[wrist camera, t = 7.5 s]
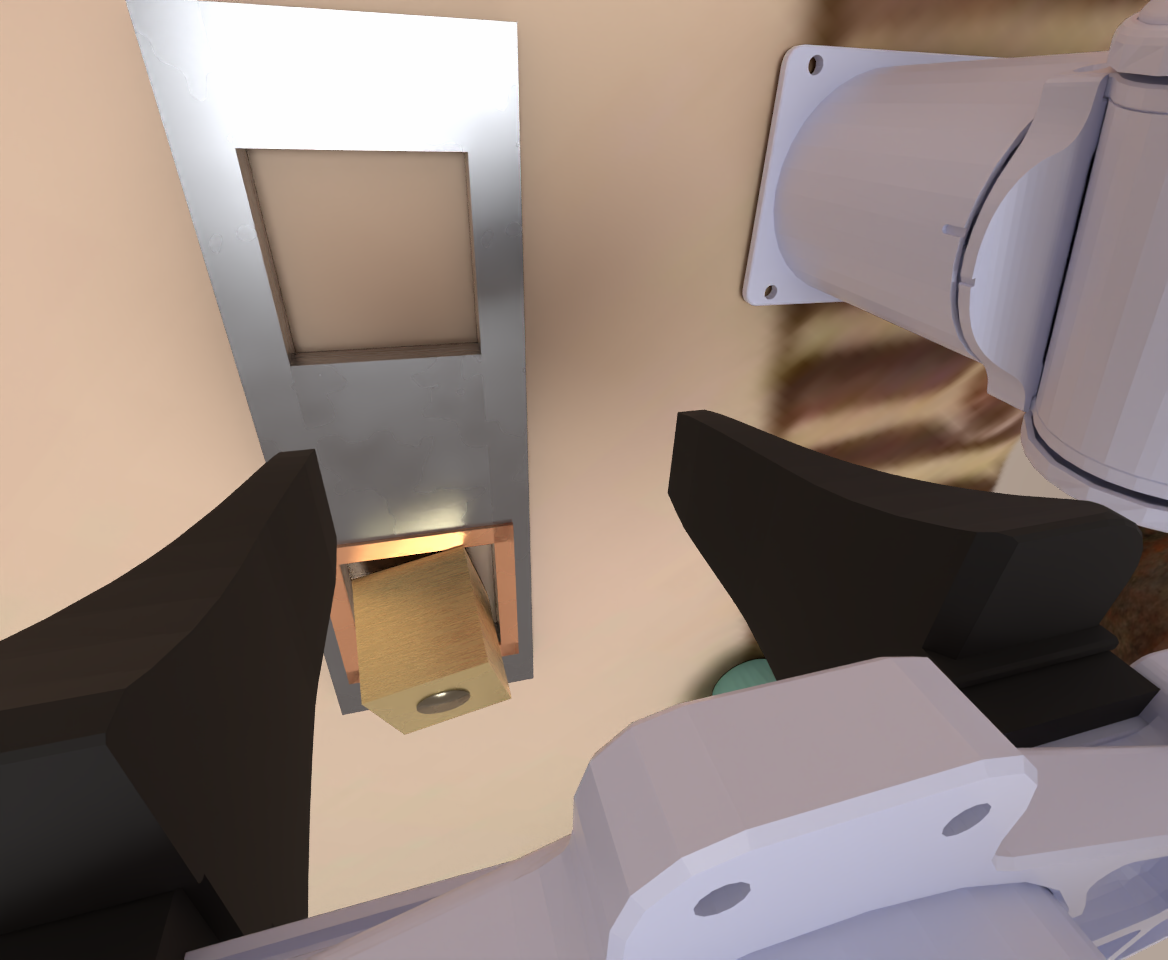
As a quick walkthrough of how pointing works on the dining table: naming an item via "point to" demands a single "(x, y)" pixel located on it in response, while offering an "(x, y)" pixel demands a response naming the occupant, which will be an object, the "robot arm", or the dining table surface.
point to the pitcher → (1142, 603)
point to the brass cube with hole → (427, 642)
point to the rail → (381, 375)
